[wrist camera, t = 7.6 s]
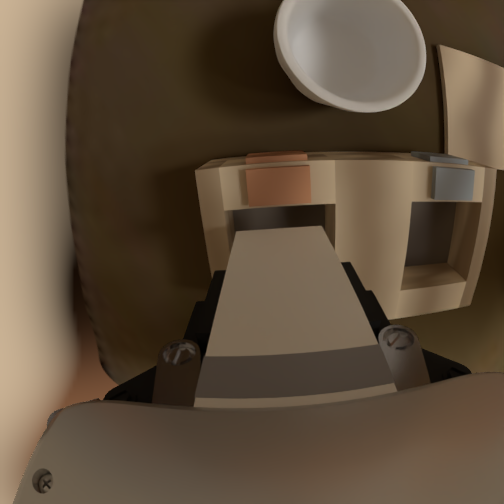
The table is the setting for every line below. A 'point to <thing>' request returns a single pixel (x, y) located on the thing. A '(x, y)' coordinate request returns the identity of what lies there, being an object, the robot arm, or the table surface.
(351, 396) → the plug
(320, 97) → the teacup
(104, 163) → the table surface
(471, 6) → the table surface
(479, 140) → the mat
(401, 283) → the socket board
